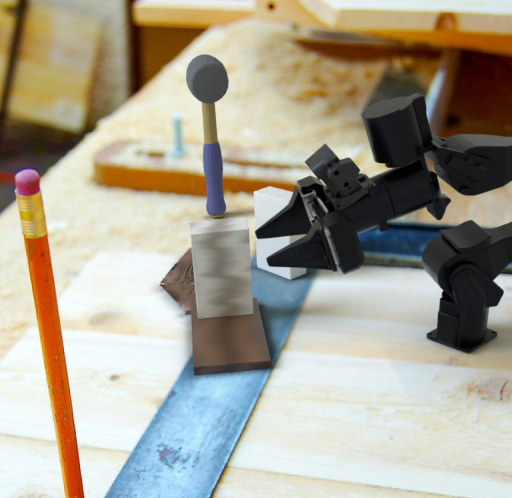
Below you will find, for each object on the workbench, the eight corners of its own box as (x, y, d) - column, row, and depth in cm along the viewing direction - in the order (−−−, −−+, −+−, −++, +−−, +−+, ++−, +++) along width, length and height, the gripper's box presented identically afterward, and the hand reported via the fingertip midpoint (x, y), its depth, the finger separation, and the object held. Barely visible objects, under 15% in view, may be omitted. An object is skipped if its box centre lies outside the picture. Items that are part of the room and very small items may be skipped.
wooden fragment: (225, 313, 114) (224, 306, 114) (152, 317, 116) (152, 310, 116) (229, 247, 136) (229, 241, 136) (168, 251, 138) (168, 246, 138)
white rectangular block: (306, 273, 123) (305, 195, 117) (290, 280, 122) (288, 201, 115) (272, 260, 129) (269, 185, 123) (257, 267, 128) (253, 191, 121)
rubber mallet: (195, 208, 158) (182, 54, 143) (231, 204, 157) (222, 49, 143) (200, 229, 147) (186, 64, 132) (239, 224, 147) (229, 58, 132)
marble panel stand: (257, 304, 116) (252, 214, 109) (271, 368, 99) (267, 266, 92) (191, 310, 116) (182, 221, 109) (194, 374, 100) (184, 274, 93)
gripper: (346, 117, 95) (229, 167, 98) (391, 155, 79) (249, 214, 82) (370, 197, 100) (258, 243, 103) (417, 248, 84) (282, 301, 87)
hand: (261, 248), depth 93 cm, fingers open, 9 cm apart
